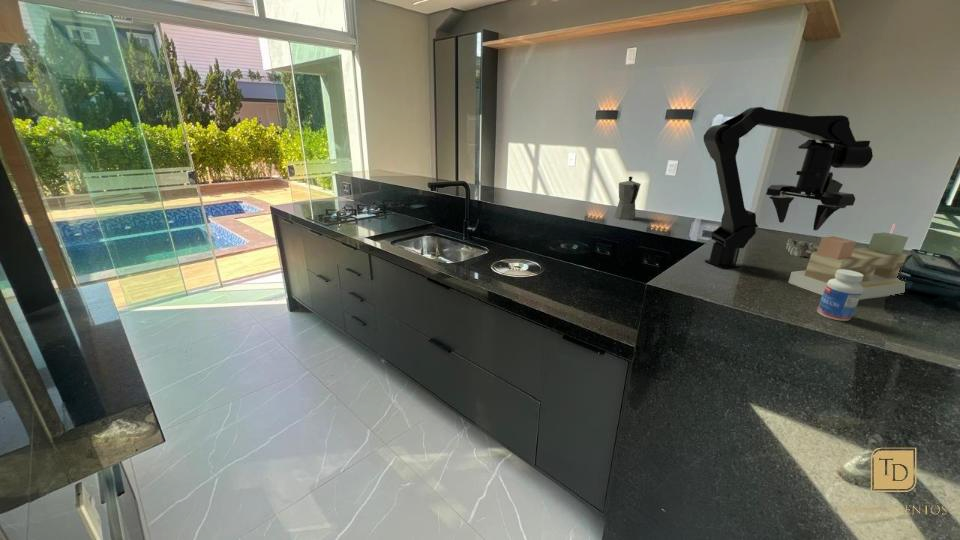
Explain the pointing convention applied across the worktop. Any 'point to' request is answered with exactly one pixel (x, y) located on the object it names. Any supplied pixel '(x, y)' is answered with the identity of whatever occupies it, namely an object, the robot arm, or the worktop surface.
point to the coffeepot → (627, 199)
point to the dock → (870, 288)
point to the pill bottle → (841, 295)
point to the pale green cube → (887, 243)
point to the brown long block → (856, 265)
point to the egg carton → (800, 248)
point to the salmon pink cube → (836, 247)
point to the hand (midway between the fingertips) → (797, 226)
